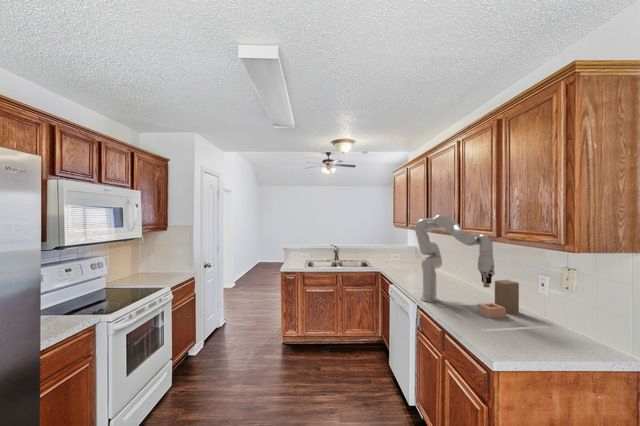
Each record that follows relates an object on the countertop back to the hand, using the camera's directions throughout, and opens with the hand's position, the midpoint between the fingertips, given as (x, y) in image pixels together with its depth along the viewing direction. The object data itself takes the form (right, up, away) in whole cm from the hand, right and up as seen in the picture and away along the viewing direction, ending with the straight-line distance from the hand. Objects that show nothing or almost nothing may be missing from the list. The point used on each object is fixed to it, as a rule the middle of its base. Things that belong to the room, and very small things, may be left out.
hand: (486, 282), depth 195 cm
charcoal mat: (-1, -20, +2) cm, 20 cm away
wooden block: (+14, -20, +3) cm, 25 cm away
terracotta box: (0, -19, -5) cm, 20 cm away
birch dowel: (0, -3, 0) cm, 3 cm away
